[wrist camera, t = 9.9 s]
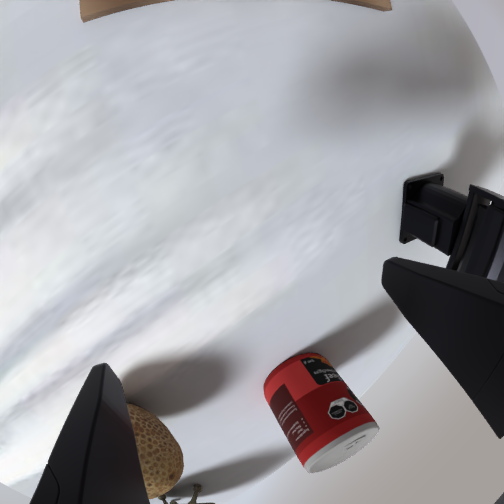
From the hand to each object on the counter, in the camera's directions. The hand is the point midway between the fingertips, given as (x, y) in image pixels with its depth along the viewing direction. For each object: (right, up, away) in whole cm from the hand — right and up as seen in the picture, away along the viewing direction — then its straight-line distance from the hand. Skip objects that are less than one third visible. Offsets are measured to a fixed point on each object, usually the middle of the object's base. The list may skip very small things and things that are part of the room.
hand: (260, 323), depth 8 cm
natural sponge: (-13, -14, +16) cm, 25 cm away
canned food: (+4, -12, +23) cm, 26 cm away
